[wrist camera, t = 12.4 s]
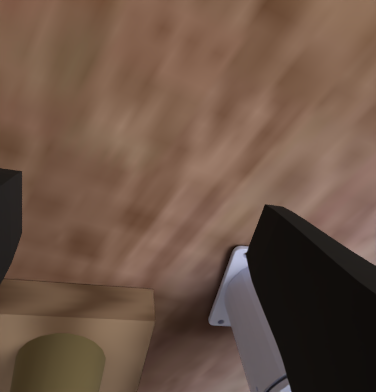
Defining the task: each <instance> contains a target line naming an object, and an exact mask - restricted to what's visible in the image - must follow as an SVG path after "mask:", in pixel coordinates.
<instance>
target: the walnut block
mask: <svg viewBox="0 0 376 392" xmlns="http://www.w3.org/2000/svg"><path fill="white" fill-rule="evenodd" d="M154 325H155V309H154V293H153V289H143V288H129V287H114V286H100V285H85V284H70V283H56V282H41V281H27V280H12V279H3V281H2V282H1V284H0V392H10V388H11V382H12V376H13V370H14V365H15V359H16V356H17V354H18V352H19V350H20V348H22V347H23V346H24V345H25V344H26V343H27V342H29V341H31V340H33V339H35V338H37V337H40V336H44V335H49V334H54V333H70V334H74V335H79V336H83V337H86V338H88V339H90V340H92V341H94V342H95V343H96V344H97V345H98V346H99V347H100V348H101V349H102V350H103V352H104V355H105V357H106V360H105V367H104V372H103V376H102V381H101V385H100V390H99V392H137V390H138V386H139V382H140V378H141V374H142V371H143V367H144V363H145V359H146V355H147V351H148V348H149V344H150V340H151V336H152V332H153V328H154Z"/></svg>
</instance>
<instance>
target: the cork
mask: <svg viewBox="0 0 376 392" xmlns="http://www.w3.org/2000/svg"><path fill="white" fill-rule="evenodd" d="M105 360H106V357H105V355H104V352H103V350H102V349H101V348H100V347H99V346H98V345H97V344H96V343H95V342H94V341H92V340H90V339H88V338H86V337H83V336H79V335H74V334H70V333H54V334H49V335H44V336H40V337H37V338H35V339H33V340H31V341H29V342H27V343H26V344H25V345H24V346H23V347H22V348H20V350H19V352H18V354H17V356H16V359H15V365H14V370H13V376H12V382H11V388H10V392H99V390H100V385H101V381H102V376H103V372H104V367H105Z"/></svg>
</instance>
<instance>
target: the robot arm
mask: <svg viewBox="0 0 376 392" xmlns="http://www.w3.org/2000/svg"><path fill="white" fill-rule="evenodd" d="M21 234H22V171H16V170H8V169H1V168H0V284H1V282H2V281H3V279H4V277H5V275H6V273H7V271H8V269H9V267H10V265H11V263H12V260H13V257H14V254H15V252H16V249H17V246H18V243H19V240H20V237H21ZM246 252H247V253H246ZM244 253H246V254H244ZM208 320H209V324H210V325H213V326H231V327H232V331H233V334H234V338H235V341H236V344H237V348H238V351H239V355H240V358H241V361H242V365H243V368H244V371H245V375H246V378H247V382H248V385H249V388H250V392H376V266H375V265H373V264H372V263H370V262H368V261H367V260H365V259H364V258H362V257H360V256H359V255H357V254H356V253H354V252H352V251H351V250H349V249H348V248H346V247H345V246H343V245H342V244H340V243H339V242H337V241H336V240H334V239H333V238H331V237H330V236H328V235H327V234H325V233H324V232H322V231H321V230H319V229H318V228H316V227H315V226H313V225H312V224H311V223H309V222H308V221H306V220H305V219H303V218H301V217H300V216H298V215H297V214H295V213H293V212H292V211H290V210H288V209H286V208H284V207H281V206H274V205H266V204H265V206H264V209H263V211H262V214H261V216H260V219H259V222H258V224H257V227H256V229H255V232H254V235H253V237H252V240H251V242H250V245H249V247H247V246H238V247H236V248H234V250H233V252H232V254H231V257H230V260H229V263H228V265H227V268H226V271H225V274H224V276H223V279H222V282H221V285H220V288H219V290H218V293H217V296H216V299H215V301H214V304H213V307H212V310H211V312H210V315H209V318H208Z"/></svg>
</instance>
